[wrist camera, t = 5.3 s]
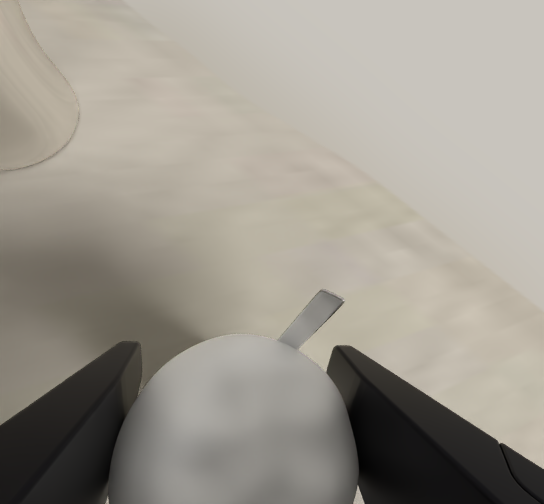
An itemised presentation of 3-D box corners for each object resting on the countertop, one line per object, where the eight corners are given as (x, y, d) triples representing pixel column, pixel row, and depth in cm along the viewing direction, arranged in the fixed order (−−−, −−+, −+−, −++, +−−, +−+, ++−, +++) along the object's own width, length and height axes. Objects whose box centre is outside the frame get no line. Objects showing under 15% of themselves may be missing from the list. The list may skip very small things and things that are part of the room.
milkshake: (296, 354, 15) (455, 352, 6) (245, 485, 13) (355, 800, 4) (204, 310, 15) (211, 232, 5) (138, 437, 13) (-22, 649, 4)
